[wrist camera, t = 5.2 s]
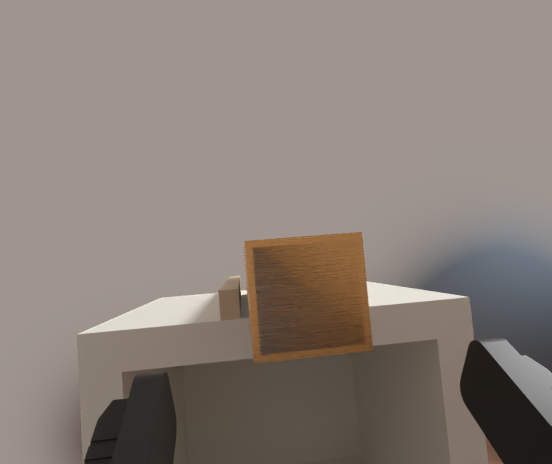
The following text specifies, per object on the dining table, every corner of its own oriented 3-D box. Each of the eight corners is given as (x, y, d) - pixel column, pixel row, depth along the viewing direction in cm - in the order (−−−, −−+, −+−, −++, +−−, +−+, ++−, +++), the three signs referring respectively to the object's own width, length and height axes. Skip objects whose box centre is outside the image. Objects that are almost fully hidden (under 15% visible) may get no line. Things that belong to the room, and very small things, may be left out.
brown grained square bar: (284, 290, 35) (280, 252, 35) (373, 350, 11) (361, 232, 12) (245, 294, 35) (242, 255, 35) (253, 363, 11) (244, 241, 11)
